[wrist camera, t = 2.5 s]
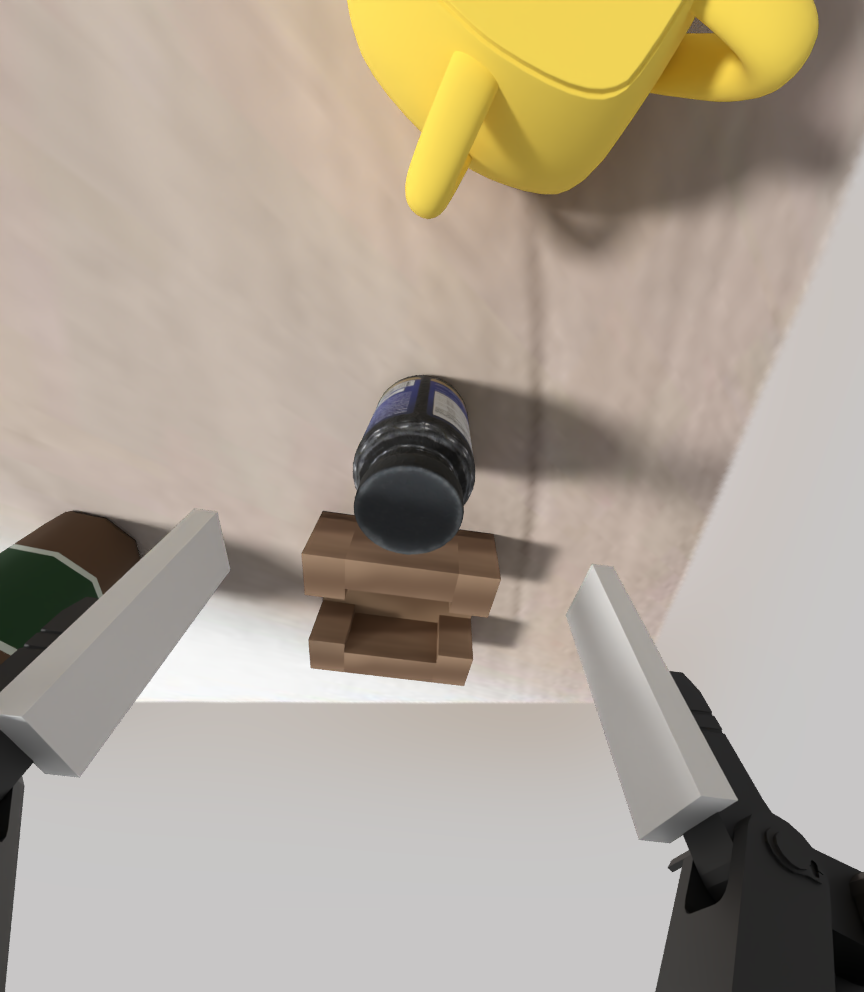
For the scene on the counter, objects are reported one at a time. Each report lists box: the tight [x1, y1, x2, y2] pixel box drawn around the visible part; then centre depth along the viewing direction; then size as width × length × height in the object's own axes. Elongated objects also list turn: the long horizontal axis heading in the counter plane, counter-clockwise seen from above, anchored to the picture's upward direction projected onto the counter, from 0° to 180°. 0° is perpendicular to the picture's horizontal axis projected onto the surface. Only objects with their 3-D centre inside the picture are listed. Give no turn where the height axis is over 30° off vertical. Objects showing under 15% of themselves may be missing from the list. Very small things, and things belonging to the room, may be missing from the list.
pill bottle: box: [353, 375, 475, 555], centre depth 20 cm, size 6×6×11 cm
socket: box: [302, 511, 501, 686], centre depth 31 cm, size 14×14×5 cm
